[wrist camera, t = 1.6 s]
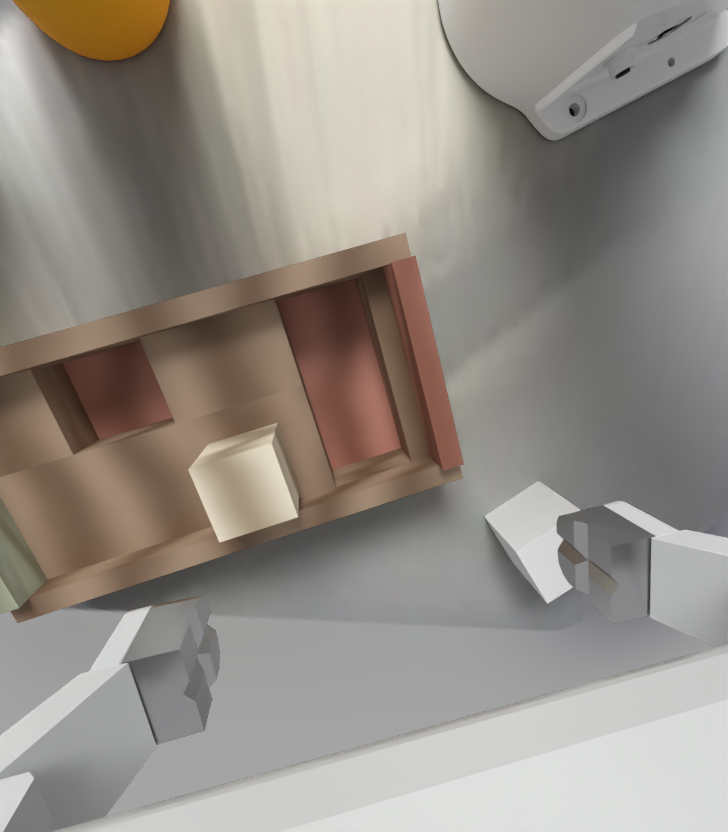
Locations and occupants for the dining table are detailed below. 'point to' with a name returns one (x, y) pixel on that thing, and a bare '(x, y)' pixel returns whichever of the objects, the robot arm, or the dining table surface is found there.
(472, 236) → the dining table surface
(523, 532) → the white cube
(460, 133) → the dining table surface
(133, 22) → the beer bottle
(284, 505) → the ash block
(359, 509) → the tray
